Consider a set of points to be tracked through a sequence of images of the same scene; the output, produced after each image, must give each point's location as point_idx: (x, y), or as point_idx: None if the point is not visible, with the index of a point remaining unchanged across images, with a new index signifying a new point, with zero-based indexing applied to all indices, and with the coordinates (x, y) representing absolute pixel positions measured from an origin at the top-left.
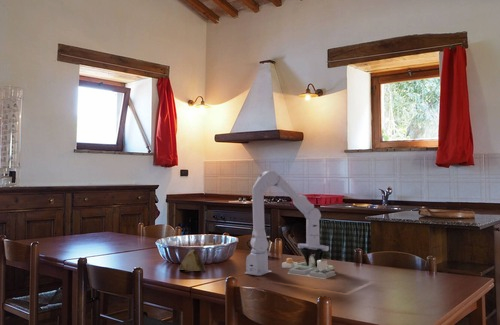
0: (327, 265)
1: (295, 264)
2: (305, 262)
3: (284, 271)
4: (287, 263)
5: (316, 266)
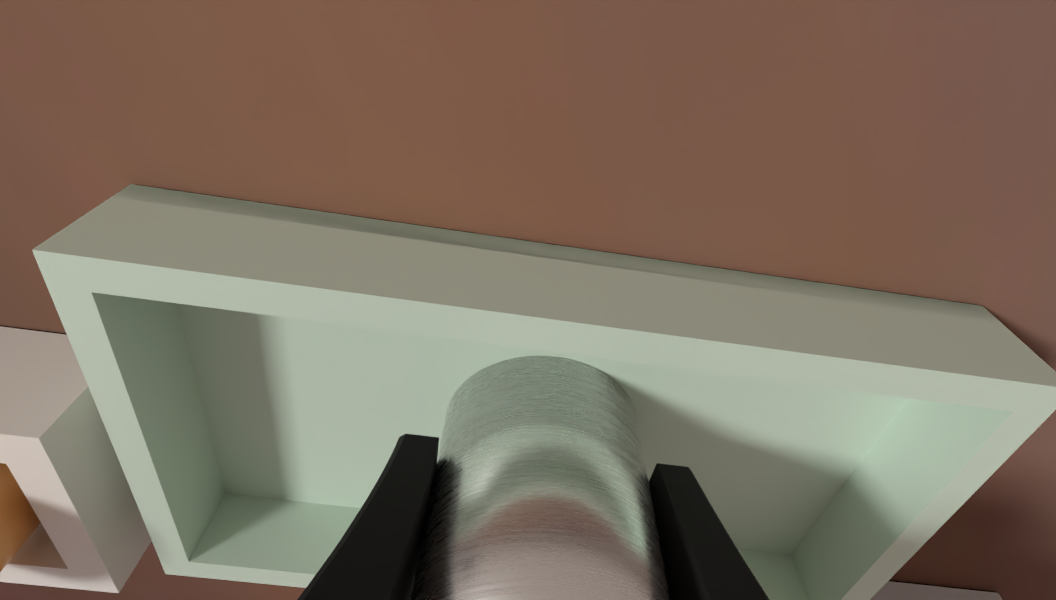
0: (900, 394)
1: (162, 541)
2: (137, 277)
3: (194, 585)
4: (9, 577)
5: None
